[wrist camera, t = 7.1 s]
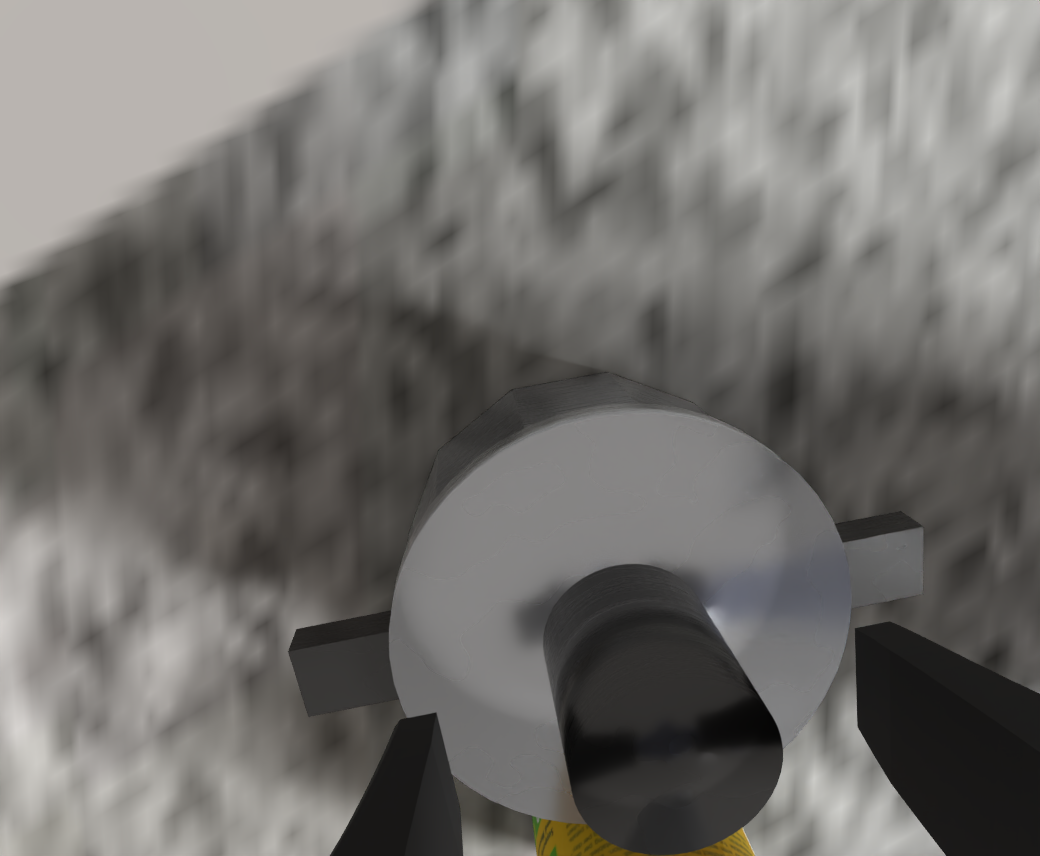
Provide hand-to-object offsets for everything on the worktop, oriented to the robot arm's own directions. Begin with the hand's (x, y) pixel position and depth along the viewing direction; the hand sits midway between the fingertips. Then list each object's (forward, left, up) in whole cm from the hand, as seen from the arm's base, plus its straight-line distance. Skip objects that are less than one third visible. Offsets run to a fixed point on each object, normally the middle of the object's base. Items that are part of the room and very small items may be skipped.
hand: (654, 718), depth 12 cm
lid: (0, 0, -3) cm, 3 cm away
